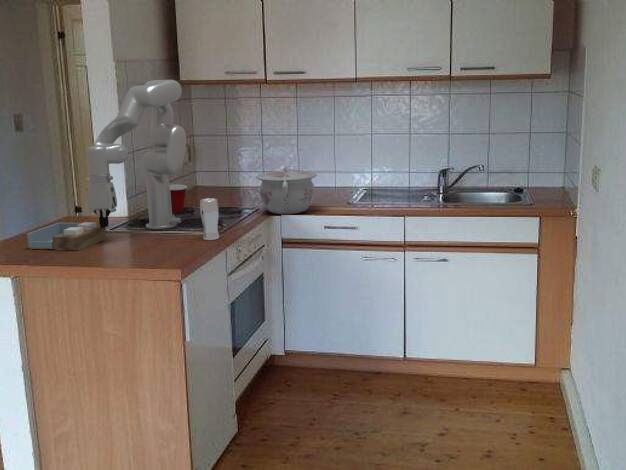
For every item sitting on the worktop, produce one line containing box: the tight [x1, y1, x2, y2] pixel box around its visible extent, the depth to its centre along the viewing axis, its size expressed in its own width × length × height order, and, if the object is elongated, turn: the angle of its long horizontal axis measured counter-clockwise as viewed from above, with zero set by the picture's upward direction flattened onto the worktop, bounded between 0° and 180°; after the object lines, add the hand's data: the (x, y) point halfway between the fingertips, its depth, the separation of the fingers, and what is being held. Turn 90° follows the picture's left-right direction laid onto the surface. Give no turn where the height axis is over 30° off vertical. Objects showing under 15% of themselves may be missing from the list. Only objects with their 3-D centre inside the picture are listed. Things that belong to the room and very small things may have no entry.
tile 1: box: [77, 221, 98, 230], centre depth 266 cm, size 5×5×2 cm
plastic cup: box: [170, 184, 188, 213], centre depth 323 cm, size 11×11×12 cm
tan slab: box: [52, 225, 108, 251], centre depth 263 cm, size 10×20×5 cm, turn 166°
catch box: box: [26, 222, 81, 249], centre depth 265 cm, size 10×20×6 cm, turn 166°
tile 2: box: [64, 227, 84, 236], centre depth 258 cm, size 5×5×2 cm
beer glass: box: [199, 197, 220, 241], centre depth 264 cm, size 7×7×15 cm
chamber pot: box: [255, 166, 318, 216], centre depth 311 cm, size 28×28×21 cm
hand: (104, 226), depth 264 cm, fingers closed
